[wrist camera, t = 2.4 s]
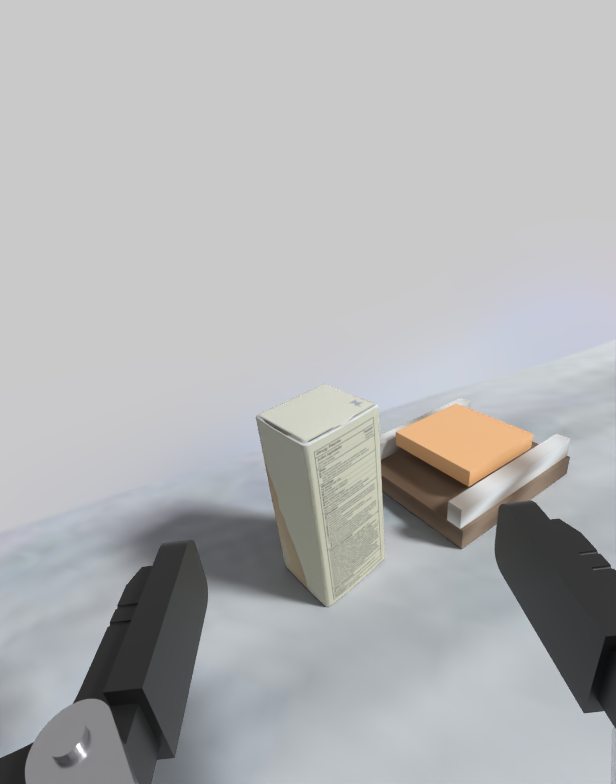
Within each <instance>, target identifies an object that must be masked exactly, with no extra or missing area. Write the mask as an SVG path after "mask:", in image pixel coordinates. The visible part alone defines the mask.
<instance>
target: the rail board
mask: <svg viewBox="0 0 616 784" xmlns="http://www.w3.org/2000/svg"><path fill="white" fill-rule="evenodd" d="M454 404H459V405H461V406H464V407H466V408H469V409H470V401H469V400H466V399H464V398H459V399H457V400H455V401H453V402H451V403H449V404H446V405H444V406H442V407H440V408H438V409H436V410H433V411H431V412H429V413H427V414H425V415H423V416H421V417H418V418H416V419H414V420H412V421H410V422H408V423H405V424H403V425H401V426H399V427H397V428H395V429H393V430H390V431H388V432H386V433H384V434H382V435H380V456H381V479H382V491H383V492H384V493H386V494H387V495H388V496H390V497H391V498H393V499H394V500H395V501H397V502H398V503H399V504H401V505H402V506H403V507H405V508H406V509H408V510H409V511H410V512H412V513H413V514H414V515H416V516H417V517H418V518H420V519H421V520H423V521H424V522H425V523H427V524H428V525H429V526H431V527H432V528H433V529H435V530H436V531H437V532H439V533H440V534H442V535H443V536H444V537H446V538H447V539H448V540H450V541H451V542H452V543H454V544H455V545H457V546H458V547H459V548H461V549H462V548H464V547H465V546H467V545H468V544H469V543H471V542H472V541H474V540H475V539H476V538H478V537H479V536H480V535H482V534H483V533H485V532H486V531H487V530H489V529H490V528H492V527H493V526H494V525H496V524H497V518H498V509H499V506H500V505H501V504H505V503H513V502H522V501H529V500H530V499H532V498H533V497H535V496H536V495H537V494H539V493H540V492H542V491H543V490H544V489H546V488H547V487H548V486H550V485H551V484H553V483H554V482H555V481H557V480H558V479H560V478H561V477H562V476H564V475H565V474H566V473H567V469H568V464H569V459H570V457H568V456H567V454H568V449H569V444H570V438H567V437H564V436H562V435H559V434H555V435H553V436H552V437H550V438H549V439H547V440H545V441H544V442H542V443H541V444H537V443H534V442H532V446H531V448H530V449H529V450H527V451H526V452H524V453H522V454H521V455H519V456H518V457H516V458H514V459H513V460H511V461H510V462H508V463H506V464H505V465H503V466H501V467H500V468H498V469H497V470H495V471H493V472H492V473H490V474H489V475H487V476H485V477H484V478H482V479H481V480H479V481H477V482H476V483H474V484H473V485H471V486H469V487H468V486H466V485H465V484H463V483H461V482H460V481H458V480H456V479H454V478H453V477H451V476H449V475H447V474H446V473H444V472H442V471H440V470H439V469H437V468H435V467H434V466H432V465H430V464H428V463H427V462H425V461H423V460H421V459H420V458H418V457H416V456H414V455H413V454H411V453H409V452H408V451H406V450H404V449H402V448H401V447H399V446H397V445H396V431H398V430H400V429H403V428H405V427H407V426H409V425H411V424H413V423H415V422H417V421H420V420H422V419H424V418H426V417H428V416H430V415H432V414H434V413H437V412H439V411H441V410H443V409H445V408H447V407H449V406H452V405H454Z"/></svg>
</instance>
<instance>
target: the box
mask: <svg viewBox="0 0 616 784" xmlns="http://www.w3.org/2000/svg"><path fill="white" fill-rule="evenodd" d="M256 420H257V426H258V431H259V436H260V441H261V446H262V451H263V456H264V461H265V466H266V471H267V476H268V482H269V487H270V492H271V497H272V502H273V506H274V511H275V517H276V522H277V527H278V532H279V538H280V543H281V548H282V553H283V558H284V563H285V565H286V567H287V568H288V569H289V570H290V571H291V572H292V573H293V574H294V575H295V576H296V578H297V579H298V580H299V581H300V582H301V583H302V584H303V585H304V586H305V587H306V588H307V589H308V590H309V591H310V592H311V593H312V594H313V595H314V596H315V597H316V598H317V599H318V600H319V601H320V602H322V603H323V604H324V605H325V606H326V607H329V606H331V605H332V604H333V603H335V602H336V601H337V600H339V599H340V598H341V597H342V596H343V595H345V594H346V593H347V592H348V591H349V590H351V589H352V588H353V587H354V586H355V585H356V584H357V583H358V582H359V581H360V580H362V579H363V578H364V577H365V576H366V575H367V574H368V573H370V572H371V571H372V570H373V569H374V568H375V567H376V566H377V565H378V564H379V563H380V562H381V561H382V560H383V559H384V558H385V543H384V521H383V499H382V479H381V456H380V435H379V413H378V405H377V404H376V403H373V402H370V401H367V400H365V399H362V398H360V397H357V396H354V395H352V394H349V393H346V392H344V391H341V390H338V389H335V388H333V387H330V386H328V385H321V386H318V387H316V388H314V389H312V390H310V391H308V392H306V393H304V394H302V395H299V396H297V397H295V398H293V399H290V400H289V401H286V402H284V403H282V404H280V405H278V406H276V407H274V408H271V409H269V410H267V411H265V412H263V413H260V414H258V415H257V416H256Z"/></svg>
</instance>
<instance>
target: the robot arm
mask: <svg viewBox="0 0 616 784" xmlns="http://www.w3.org/2000/svg"><path fill="white" fill-rule="evenodd" d="M495 557H496V561H497V564H498V567H499V569H500V572H501V574H502V575H503V577H504V579H505V580H506V582H507V584H508V585H509V587H510V589H511V591H512V592H513V594H514V596H515V597H516V599H517V601H518V602H519V604H520V606H521V607H522V609H523V611H524V613H525V614H526V616H527V618H528V619H529V621H530V623H531V624H532V626H533V628H534V630H535V631H536V633H537V635H538V636H539V638H540V640H541V641H542V643H543V645H544V646H545V648H546V650H547V652H548V653H549V655H550V657H551V658H552V660H553V662H554V663H555V665H556V667H557V668H558V670H559V672H560V674H561V675H562V677H563V679H564V680H565V682H566V684H567V685H568V687H569V689H570V690H571V692H572V694H573V696H574V697H575V699H576V701H577V702H578V704H579V706H580V707H581V709H582V711H583V712H584V713H591V712H600V711H605V713H606V714H607V716H608V717H609V719H610V721H611V722H612V724H613V725H614V728H613V732H612V761H611V784H616V570H615V569H612V568H611V565H610V564H609V563H608V562H607V561H606V560H605V558H604V557H603V556H602V555H601V554H598V553H597V550H596V549H595V548H594V546H593V545H592V544H591V543H590V542H589V541H588V540H587V539H586V538H585V537H584V536H583V534H582V533H581V532H579V531H577V530H576V529H574V528H573V527H571V526H570V525H568V524H566V523H565V522H563V521H562V520H560V519H552V520H550V519H549V518H548V517H547V515H546V514H545V513H544V512H543V511H542V510H541V508H540V507H539V506H538V505H537V504H536V503H535V502H533V501H522V502H513V503H505V504H501V505H500V506H499V509H498V518H497V528H496V538H495ZM207 602H208V587H207V581H206V577H205V574H204V571H203V568H202V564H201V561H200V558H199V554H198V551H197V548H196V545H195V542H194V541H193V540H186V541H177V542H169V543H163V544H162V545H161V547H160V549H159V551H158V554H157V556H156V559H155V561H154V564H153V566H147V567H142V568H141V569H140V570H139V571H138V572H137V574H136V575H135V576H134V577H133V578H132V579H131V580H130V582H129V583H128V584H127V585H126V587H125V589H124V592H123V594H122V596H121V598H120V601H119V603H118V605H117V606H118V608H117V609H116V610H115V612H114V614H113V616H112V619H111V621H110V626H109V627H108V628H107V630H106V632H105V635H104V637H103V639H102V641H101V644H100V646H99V648H98V650H97V653H96V655H95V657H94V659H93V662H92V664H91V666H90V668H89V671H88V673H87V675H86V677H85V680H84V682H83V684H82V686H81V689H80V691H79V693H78V695H77V697H76V699H75V701H74V703H73V704H72V705H70V706H68V707H67V708H65V709H63V710H62V711H61V712H59V713H58V714H57V715H56V716H55V717H54V718H53V719H52V720H50V721H49V723H48V724H47V725H46V726H45V727H44V728H43V730H42V731H41V732H40V734H39V735H38V736H37V738H36V740H35V741H34V742H33V743H31V744H30V745H28V746H26V747H24V748H22V749H19V750H17V751H15V752H13V753H11V754H9V755H6V756H4V757H2V758H0V784H151V781H152V777H153V773H154V769H155V765H156V761H157V760H159V759H167V758H175V754H176V749H177V744H178V740H179V735H180V730H181V725H182V721H183V716H184V711H185V707H186V702H187V697H188V693H189V688H190V683H191V679H192V674H193V669H194V665H195V660H196V655H197V651H198V646H199V641H200V637H201V632H202V627H203V622H204V618H205V613H206V608H207Z"/></svg>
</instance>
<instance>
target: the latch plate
mask: <svg viewBox="0 0 616 784" xmlns="http://www.w3.org/2000/svg"><path fill="white" fill-rule="evenodd" d="M532 440H533V434H532V433H530V432H527V431H524V430H522V429H519V428H517V427H514V426H512V425H509V424H507V423H504V422H502V421H499V420H497V419H494V418H492V417H489V416H487V415H484V414H482V413H479V412H476V411H474V410H471V409H469V408H466V407H464V406H461V405H459V404H454V405H452V406H449V407H447V408H445V409H443V410H441V411H439V412H437V413H434V414H432V415H430V416H428V417H426V418H424V419H422V420H420V421H417V422H415V423H413V424H411V425H409V426H407V427H405V428H403V429H400V430H398V431H396V445H397V446H399V447H401V448H402V449H404V450H406V451H408V452H409V453H411V454H413V455H414V456H416V457H418V458H420V459H421V460H423V461H425V462H427V463H428V464H430V465H432V466H434V467H435V468H437V469H439V470H440V471H442V472H444V473H446V474H447V475H449V476H451V477H453V478H454V479H456V480H458V481H460V482H461V483H463V484H465V485H466V486H468V487H469V486H471V485H473V484H474V483H476V482H477V481H479V480H481V479H482V478H484V477H485V476H487V475H489V474H490V473H492V472H493V471H495V470H497V469H498V468H500V467H501V466H503V465H505V464H506V463H508V462H510V461H511V460H513V459H514V458H516V457H518V456H519V455H521V454H522V453H524V452H526V451H527V450H529V449H530V448H531V446H532Z"/></svg>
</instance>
